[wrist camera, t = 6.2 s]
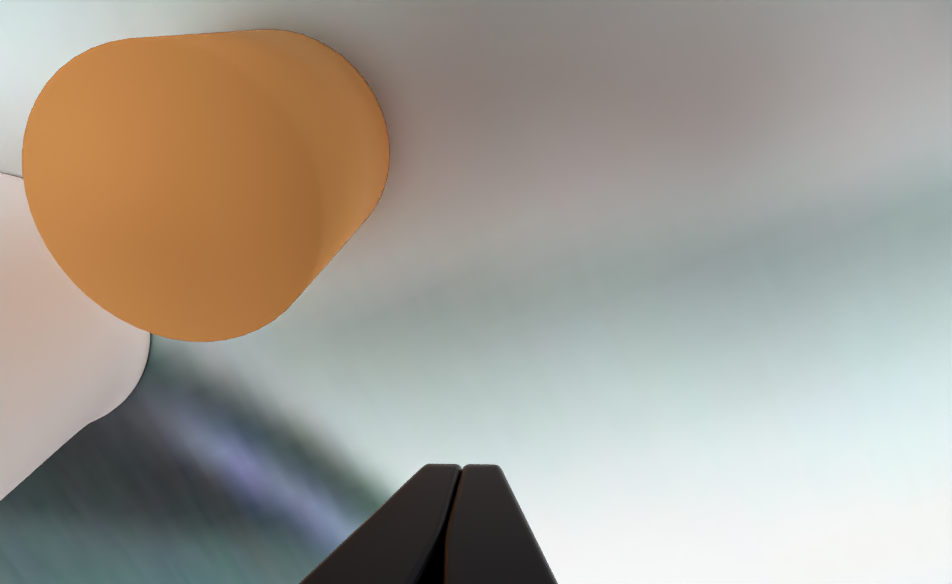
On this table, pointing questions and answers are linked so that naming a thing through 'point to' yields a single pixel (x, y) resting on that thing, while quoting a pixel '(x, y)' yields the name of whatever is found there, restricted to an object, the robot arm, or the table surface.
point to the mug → (52, 347)
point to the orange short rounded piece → (202, 175)
